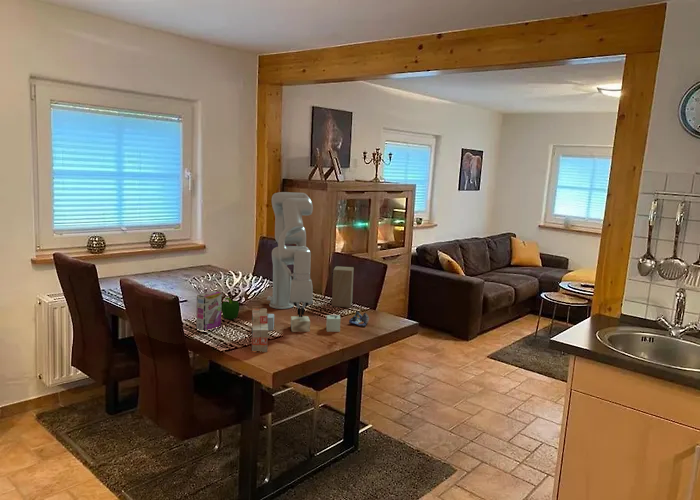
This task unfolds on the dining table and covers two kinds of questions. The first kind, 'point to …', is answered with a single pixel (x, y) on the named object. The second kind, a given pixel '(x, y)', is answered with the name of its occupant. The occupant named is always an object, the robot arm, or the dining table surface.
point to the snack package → (359, 319)
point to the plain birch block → (300, 324)
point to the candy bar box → (209, 310)
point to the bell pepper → (230, 309)
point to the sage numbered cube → (333, 323)
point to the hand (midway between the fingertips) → (300, 316)
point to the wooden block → (342, 286)
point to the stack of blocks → (259, 330)
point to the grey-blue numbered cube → (270, 321)
